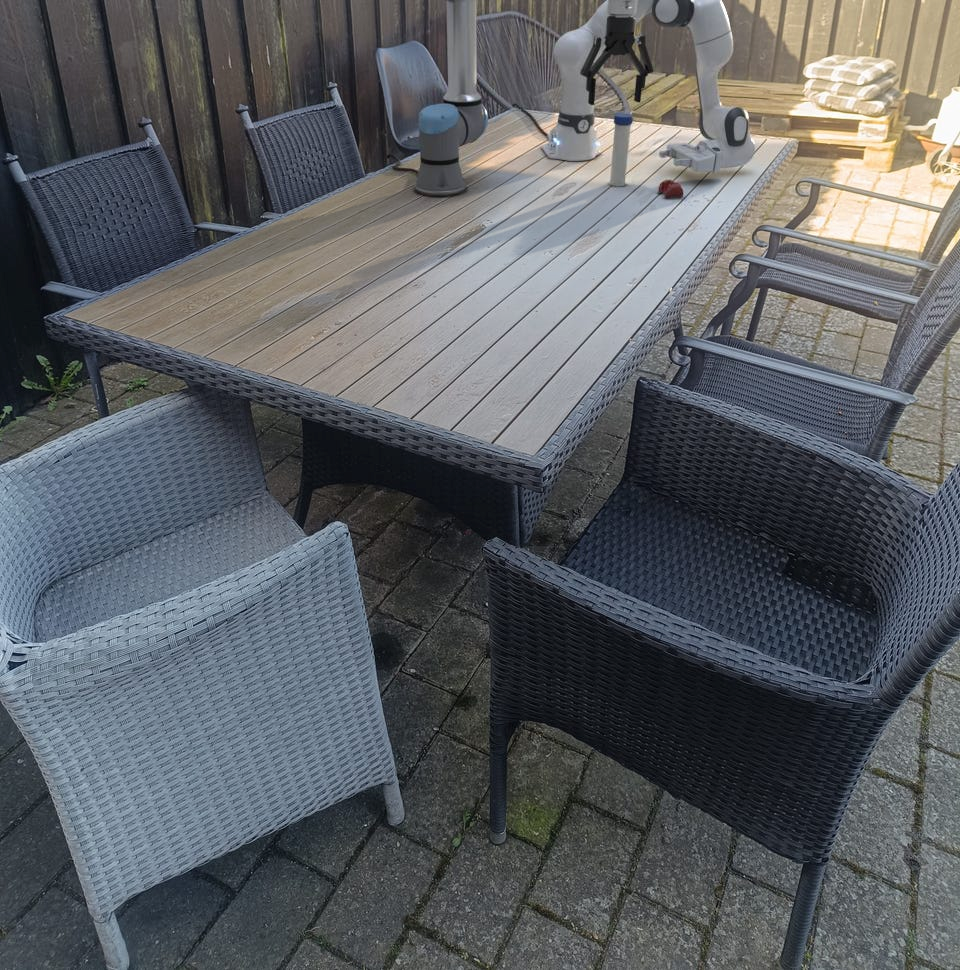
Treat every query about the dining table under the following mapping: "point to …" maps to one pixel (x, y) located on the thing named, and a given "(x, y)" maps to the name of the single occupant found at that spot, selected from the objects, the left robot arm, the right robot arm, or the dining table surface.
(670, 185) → the dental model
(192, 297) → the dining table surface
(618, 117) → the lid
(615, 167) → the white cylinder
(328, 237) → the dining table surface
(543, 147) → the right robot arm
